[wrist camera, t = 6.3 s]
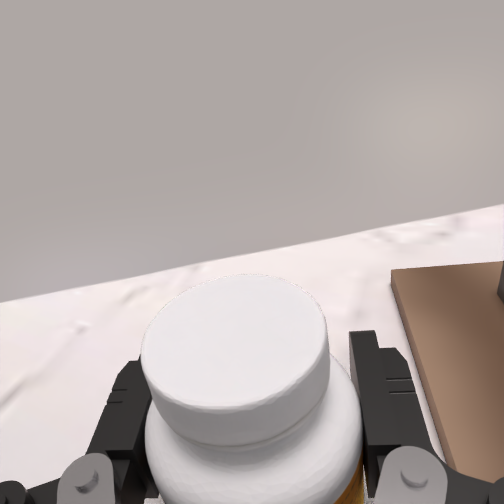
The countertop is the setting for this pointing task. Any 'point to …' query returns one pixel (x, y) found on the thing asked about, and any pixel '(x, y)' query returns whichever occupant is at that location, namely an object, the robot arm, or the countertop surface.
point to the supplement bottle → (249, 399)
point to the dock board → (459, 357)
